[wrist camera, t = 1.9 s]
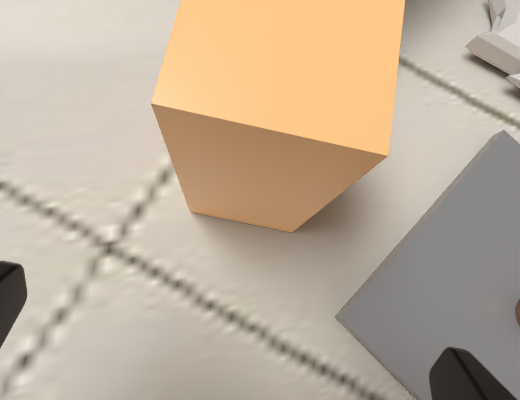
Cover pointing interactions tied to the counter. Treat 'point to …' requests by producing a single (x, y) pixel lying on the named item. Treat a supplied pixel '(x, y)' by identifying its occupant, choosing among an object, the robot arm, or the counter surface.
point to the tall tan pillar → (277, 103)
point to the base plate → (451, 279)
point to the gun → (501, 39)
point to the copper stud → (517, 312)
